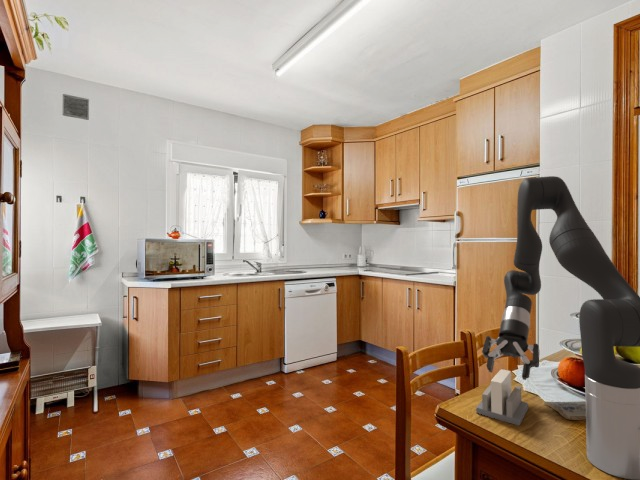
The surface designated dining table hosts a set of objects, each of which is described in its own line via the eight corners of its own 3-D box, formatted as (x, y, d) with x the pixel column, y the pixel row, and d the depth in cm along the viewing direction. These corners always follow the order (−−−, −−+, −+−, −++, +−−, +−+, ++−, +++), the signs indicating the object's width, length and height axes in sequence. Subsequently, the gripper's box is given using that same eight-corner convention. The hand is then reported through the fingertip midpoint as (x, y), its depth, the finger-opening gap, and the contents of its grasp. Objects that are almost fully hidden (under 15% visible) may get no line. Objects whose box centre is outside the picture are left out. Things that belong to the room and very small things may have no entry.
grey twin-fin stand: (528, 408, 94) (527, 388, 94) (519, 425, 85) (518, 403, 85) (488, 398, 100) (487, 379, 100) (476, 413, 92) (475, 392, 92)
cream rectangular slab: (511, 400, 95) (510, 371, 95) (502, 414, 88) (501, 383, 88) (501, 397, 97) (500, 369, 97) (491, 411, 90) (490, 380, 89)
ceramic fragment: (563, 416, 87) (542, 393, 97) (562, 427, 87) (541, 403, 97) (609, 417, 86) (583, 393, 96) (608, 429, 86) (583, 404, 96)
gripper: (487, 315, 109) (476, 362, 100) (540, 321, 99) (534, 374, 91) (492, 328, 113) (482, 375, 104) (544, 335, 103) (538, 387, 95)
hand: (506, 374), depth 97 cm, fingers open, 8 cm apart
